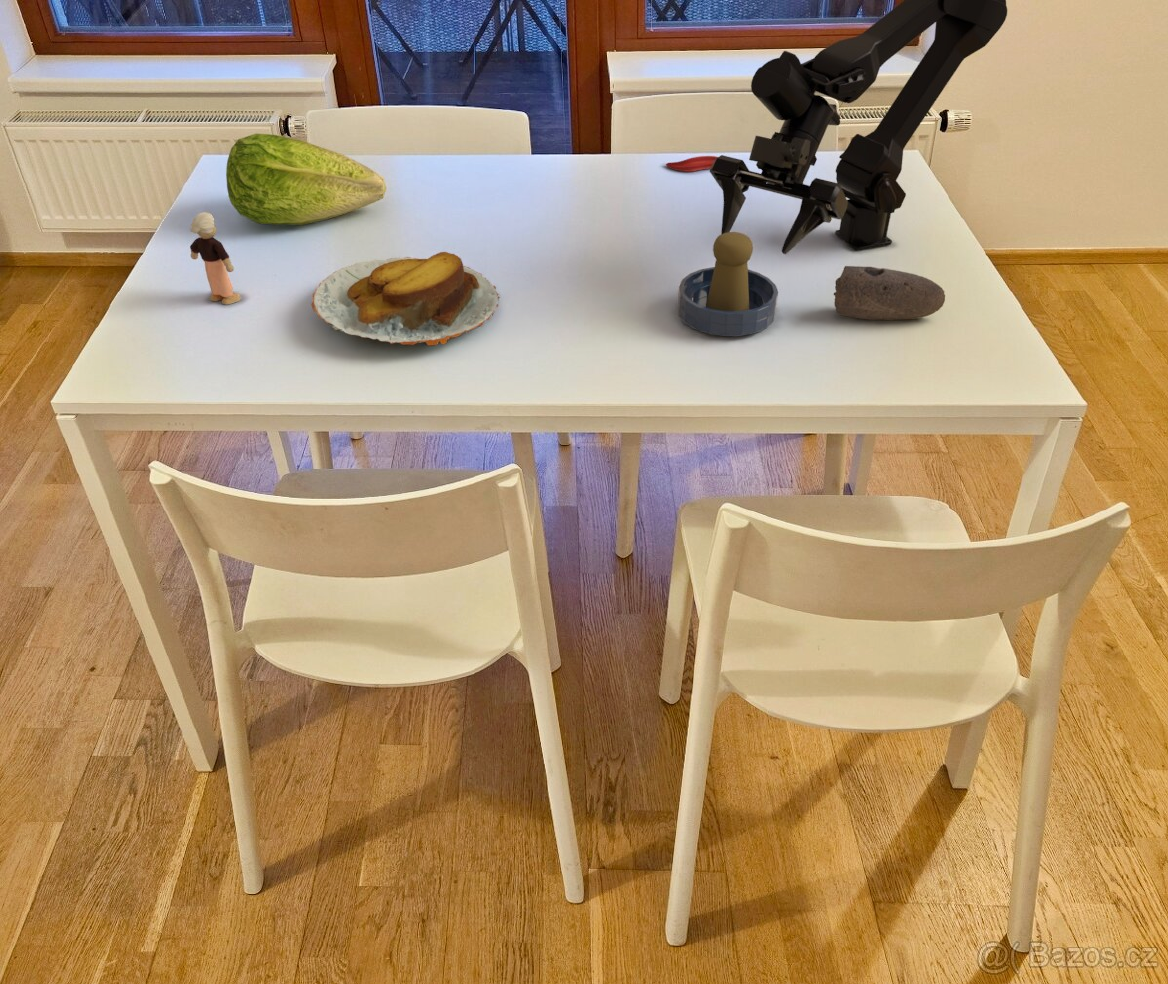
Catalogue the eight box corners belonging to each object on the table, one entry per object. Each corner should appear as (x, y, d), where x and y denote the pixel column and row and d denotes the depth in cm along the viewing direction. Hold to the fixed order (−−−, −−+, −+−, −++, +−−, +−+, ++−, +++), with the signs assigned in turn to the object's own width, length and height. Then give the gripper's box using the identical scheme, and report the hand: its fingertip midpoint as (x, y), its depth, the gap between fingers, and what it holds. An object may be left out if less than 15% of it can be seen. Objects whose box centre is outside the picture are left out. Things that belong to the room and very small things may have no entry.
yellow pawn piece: (740, 325, 138) (748, 250, 131) (698, 316, 140) (704, 241, 133) (755, 305, 142) (763, 231, 135) (714, 296, 144) (720, 223, 137)
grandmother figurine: (253, 295, 147) (233, 211, 139) (238, 308, 144) (217, 223, 136) (207, 287, 149) (185, 204, 141) (191, 299, 146) (168, 215, 138)
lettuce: (384, 241, 162) (385, 151, 156) (222, 229, 158) (217, 137, 152) (387, 220, 175) (388, 136, 169) (238, 209, 171) (234, 122, 165)
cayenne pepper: (663, 169, 181) (664, 159, 180) (667, 159, 184) (667, 149, 183) (732, 174, 179) (733, 163, 178) (734, 164, 182) (735, 153, 181)
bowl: (747, 285, 148) (750, 260, 145) (791, 329, 138) (795, 303, 136) (663, 301, 145) (664, 275, 142) (701, 347, 135) (704, 320, 132)
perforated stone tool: (937, 310, 142) (948, 264, 138) (943, 330, 138) (954, 283, 134) (827, 304, 144) (834, 258, 139) (829, 323, 140) (837, 276, 135)
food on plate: (336, 269, 153) (329, 228, 149) (503, 269, 153) (501, 227, 148) (298, 360, 133) (289, 315, 129) (491, 360, 133) (488, 315, 129)
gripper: (721, 95, 137) (674, 203, 137) (852, 123, 128) (801, 237, 128) (744, 135, 147) (700, 236, 147) (867, 164, 138) (820, 270, 138)
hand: (752, 244), depth 140 cm, fingers open, 9 cm apart
